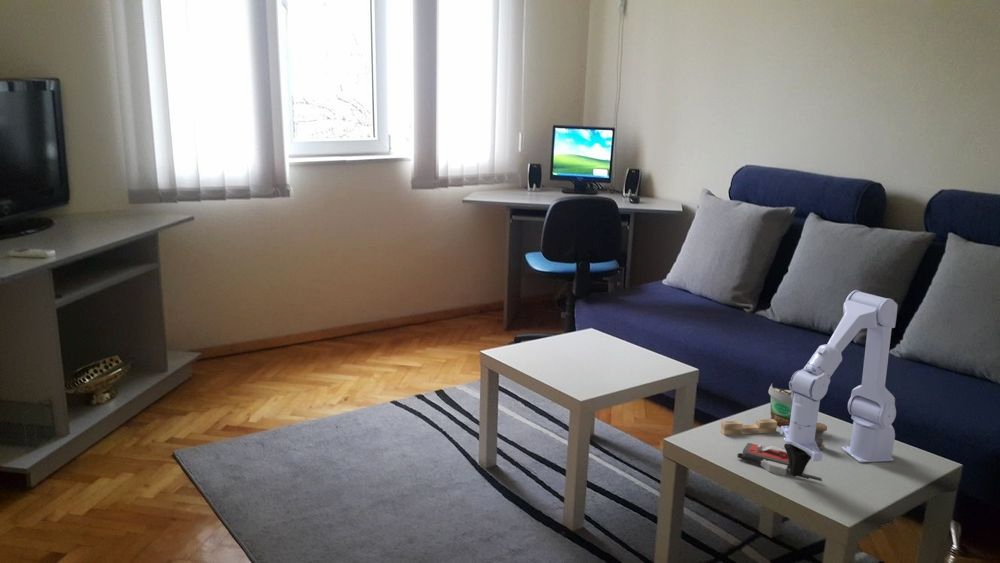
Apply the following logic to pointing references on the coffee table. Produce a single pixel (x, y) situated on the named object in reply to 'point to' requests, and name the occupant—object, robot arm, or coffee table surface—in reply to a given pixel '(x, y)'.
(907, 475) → the coffee table surface
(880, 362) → the robot arm
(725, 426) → the notched board
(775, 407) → the food container
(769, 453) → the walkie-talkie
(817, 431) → the bobbin
